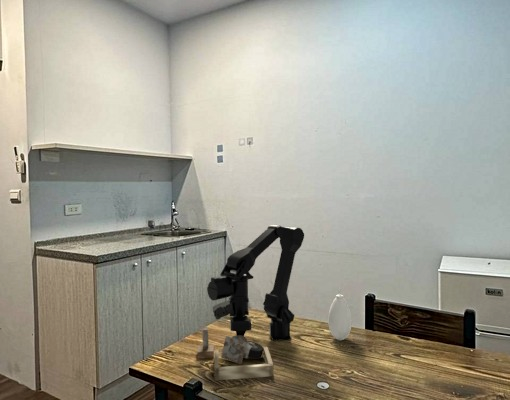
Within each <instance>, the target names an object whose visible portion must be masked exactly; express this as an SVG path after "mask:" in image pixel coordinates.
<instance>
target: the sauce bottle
mask: <svg viewBox="0 0 510 400" xmlns="http://www.w3.org/2000/svg"><path fill="white" fill-rule="evenodd" d="M338 288H339V290H338V294H336V295H335V298H334V299H333V301H332V303H331V304H330V307H329V311H328V317H327V319H328V320H327V323H328V328H329V332H330V333H331V335H332V337H334V339H335V340H337V341H343V340H345V339H346V338H348V336H349V335H350V334H351V330H352V323H353V321H352V312H351V310H350V307H349V304H348V302H347V300H346V299H345V296H344V295H343V294H341V287H338Z"/></svg>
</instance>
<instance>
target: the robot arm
mask: <svg viewBox="0 0 510 400" xmlns="http://www.w3.org/2000/svg"><path fill="white" fill-rule="evenodd" d="M278 239H279V244H280V248H281V253H280V257H279V262H278V267H277V269H276V275H275V279H274V284H273V288H272V290H271V291H270V292H269V293H268V292H267V293H265V294H264V295H265V296H264V301H263V303H262V304H263V311H264V313H265V314H266V317H267V318H268V319H270V322H269V325H268V326H269V336H270V338H271V339H272V341H285V340H286V341H289V340H292V337H291V323H292V322H294V319H295V314H294V313H293V312H292V310H290V309H289V305H290V301H289V297H288V288H289V283H290V279H291V274H292V270H293V265H294V260H295V257H296V253H297V252H298V250H299V249H300V248H301V247H302V244H303V242H304V239H305V233H304V231H303V229H302V228H301V227H296V226H295V227H294V226H281V225H277V224H271V225H268V227H267V228H266V229H265V230H264V231H263V232H262V233H261V234H260V235H259V236H257V238H255V239H254V240H253V241H252V242H251V243H250V244H249V245H247V246H246V247H244V248H242V249H239V250H237V251H235V252H234V253H231V255H229V256H228V257H227V260H226V263H225V265H224V267H223V269H222V270H221V272H220V274H219V275H220V276H212V277H211V278H210V281H209V283H208V286H207V287H206V292H207V295H208V297H209V299H210V300H211V301H218V300H223V299H226V298H228V300H226V301H222V302H219V303H218V304H215V305H214V306H212V312H213V315H214V317H215V320H220V319H221V318H224V317H226V316H229V321H230V322H229V325H230V332H235V336H236V335H242V336H244V337H245V334H246V332H247V331H251V330H252V322H251V319H250V317H248V316H249V315H250V312H249V301H250V300H249V280H252V279H254V276H253V274H251V273H250V271H251V269H252V268H253V267H254V265H255V263H256V260H257V258H258V257H259V256H260V255H261V254H262V253H264V251H266V250H267V249H268V248H269V247H270V246H271V245H272V244H273V243H274V242H276V241H277V240H278Z"/></svg>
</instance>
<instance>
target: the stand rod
mask: <svg viewBox="0 0 510 400" xmlns="http://www.w3.org/2000/svg"><path fill="white" fill-rule="evenodd" d="M201 334H202V344H198V345H197V354H196V355H197V357H196V358H197V359H209V358H210V359H211V358H214V350H215V349H214V346H215V345H214V344H215V343H213V344H209V328H206V327H205V328H203V329H202V333H201Z"/></svg>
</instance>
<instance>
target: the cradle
mask: <svg viewBox="0 0 510 400" xmlns="http://www.w3.org/2000/svg"><path fill="white" fill-rule="evenodd" d="M262 347H263V354H262V356H263V359H264V362H265V363H262V364H261V363H260V364H248V365H247V364H246V365H245V364H244V365H231V366H220V363H219V362H220V360H219V359H220V357H219V349H214V357H213V358H214V381H224V380H225V381H226V380H241V379H250V378H251V379H253V378H265V377H266V378H267V377H274V376H275V372H274V371H275V369H274V367H275V366H274V363H273V360H272V357H271V353H270V351H269V348H268V346H262Z"/></svg>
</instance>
